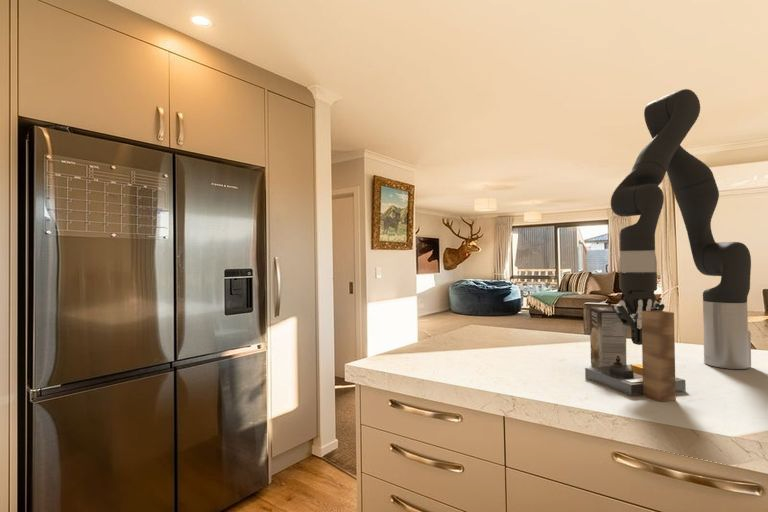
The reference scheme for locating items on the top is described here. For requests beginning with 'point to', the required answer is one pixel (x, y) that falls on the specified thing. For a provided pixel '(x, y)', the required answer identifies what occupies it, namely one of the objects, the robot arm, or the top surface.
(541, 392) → the top surface
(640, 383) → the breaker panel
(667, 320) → the walnut post
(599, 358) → the coffee box
